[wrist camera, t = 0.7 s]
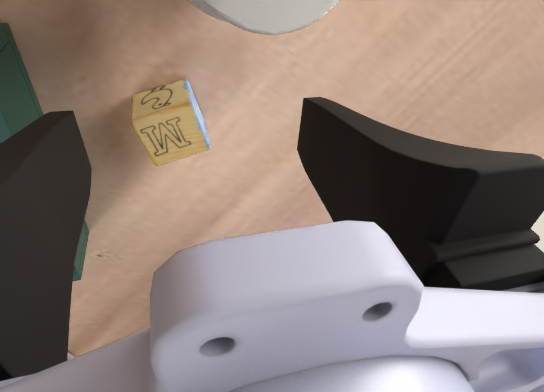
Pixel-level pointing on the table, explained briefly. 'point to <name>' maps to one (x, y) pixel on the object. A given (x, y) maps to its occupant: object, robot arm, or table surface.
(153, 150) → the alphabet block
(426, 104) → the table surface
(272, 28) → the pill bottle
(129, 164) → the table surface
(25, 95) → the tray
